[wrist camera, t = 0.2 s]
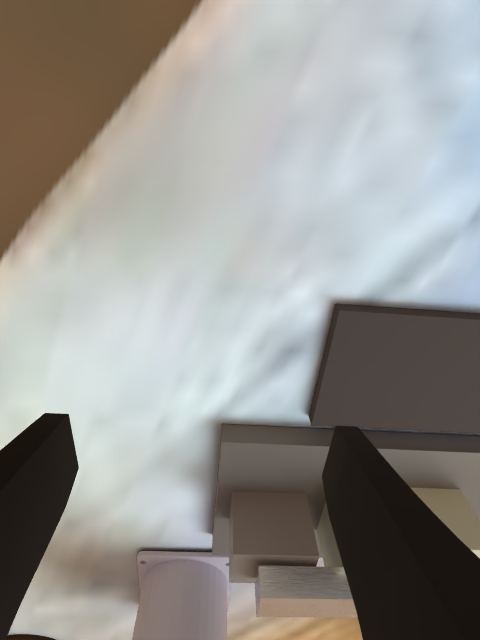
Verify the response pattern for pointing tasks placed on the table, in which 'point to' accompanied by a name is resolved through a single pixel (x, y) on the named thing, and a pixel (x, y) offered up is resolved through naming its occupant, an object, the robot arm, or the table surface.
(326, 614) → the bar
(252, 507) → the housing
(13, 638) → the candlestick
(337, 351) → the mat
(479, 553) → the cream rectangular block
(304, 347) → the table surface
